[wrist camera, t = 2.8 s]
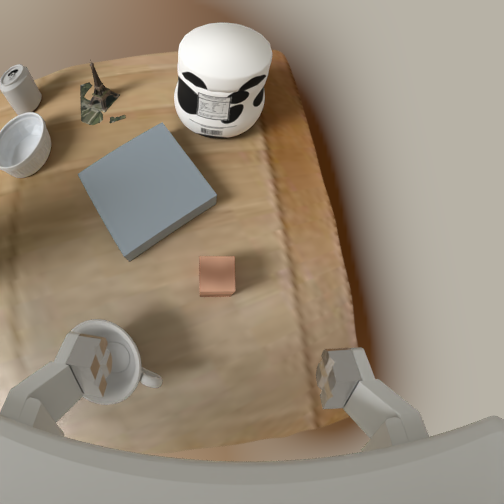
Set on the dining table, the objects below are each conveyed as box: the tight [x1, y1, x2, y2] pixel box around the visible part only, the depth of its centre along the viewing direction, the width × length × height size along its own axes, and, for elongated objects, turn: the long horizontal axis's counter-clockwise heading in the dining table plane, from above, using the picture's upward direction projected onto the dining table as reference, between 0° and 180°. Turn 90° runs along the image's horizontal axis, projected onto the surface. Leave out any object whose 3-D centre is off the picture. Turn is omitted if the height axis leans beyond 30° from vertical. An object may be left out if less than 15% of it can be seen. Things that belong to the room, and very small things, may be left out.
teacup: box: [71, 319, 162, 405], centre depth 42 cm, size 12×15×10 cm
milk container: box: [174, 23, 272, 138], centre depth 51 cm, size 17×17×18 cm
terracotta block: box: [199, 256, 235, 297], centre depth 48 cm, size 5×5×8 cm
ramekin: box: [0, 112, 51, 178], centre depth 48 cm, size 13×13×7 cm
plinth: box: [78, 123, 217, 262], centre depth 52 cm, size 18×18×4 cm
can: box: [0, 64, 42, 115], centre depth 48 cm, size 8×8×12 cm
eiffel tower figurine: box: [80, 63, 126, 125], centre depth 51 cm, size 15×10×13 cm
